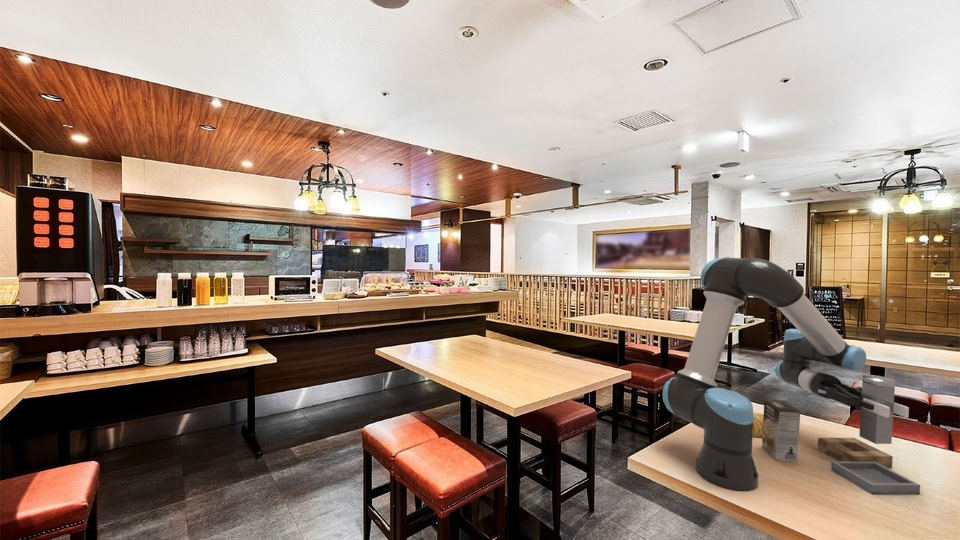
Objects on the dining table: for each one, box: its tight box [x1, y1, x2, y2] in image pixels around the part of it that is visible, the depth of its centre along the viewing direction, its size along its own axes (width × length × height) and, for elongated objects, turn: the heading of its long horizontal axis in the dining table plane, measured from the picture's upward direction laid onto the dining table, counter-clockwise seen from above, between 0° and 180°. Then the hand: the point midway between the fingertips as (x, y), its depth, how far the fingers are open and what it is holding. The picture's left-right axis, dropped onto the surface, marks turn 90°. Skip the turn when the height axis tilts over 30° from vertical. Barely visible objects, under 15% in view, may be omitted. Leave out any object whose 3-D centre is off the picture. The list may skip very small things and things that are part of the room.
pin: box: [858, 374, 896, 445], centre depth 111 cm, size 6×6×18 cm
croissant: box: [752, 412, 764, 438], centre depth 142 cm, size 21×10×8 cm, turn 101°
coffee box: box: [761, 399, 801, 463], centre depth 126 cm, size 9×6×16 cm
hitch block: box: [817, 437, 894, 469], centre depth 124 cm, size 12×12×4 cm
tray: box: [830, 460, 921, 495], centre depth 111 cm, size 13×12×2 cm
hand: (897, 412), depth 105 cm, fingers closed on pin, 4 cm apart
